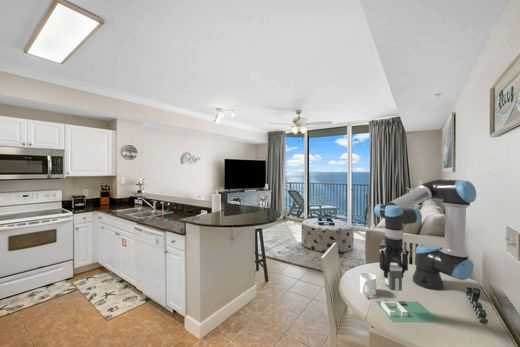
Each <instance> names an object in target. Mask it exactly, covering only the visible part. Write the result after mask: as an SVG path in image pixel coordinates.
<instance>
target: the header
mask: <svg viewBox="0 0 520 347" xmlns="http://www.w3.org/2000/svg"><path fill="white" fill-rule="evenodd" d="M380 301H381V300H380ZM381 306H382V307H383V309H384V310H385V311H386V312H387V313H388V314H389V316H396V312H395V311H391V310H390V309H389V308H388V307H397V308H398V309H399V310H400V311H401V316H408V312H407V311H406V310H405V309H404V308H403V307H402V306H401V305H400V304H399V303H398V302H383V300H382V301H381Z"/></svg>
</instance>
